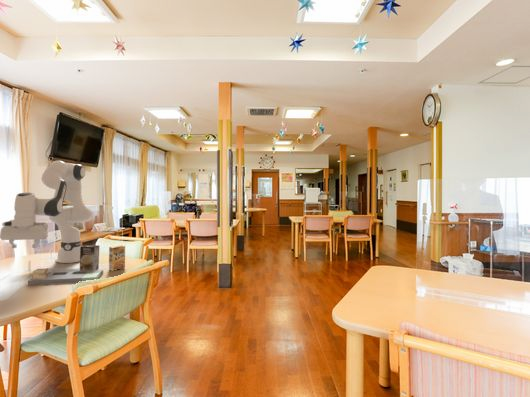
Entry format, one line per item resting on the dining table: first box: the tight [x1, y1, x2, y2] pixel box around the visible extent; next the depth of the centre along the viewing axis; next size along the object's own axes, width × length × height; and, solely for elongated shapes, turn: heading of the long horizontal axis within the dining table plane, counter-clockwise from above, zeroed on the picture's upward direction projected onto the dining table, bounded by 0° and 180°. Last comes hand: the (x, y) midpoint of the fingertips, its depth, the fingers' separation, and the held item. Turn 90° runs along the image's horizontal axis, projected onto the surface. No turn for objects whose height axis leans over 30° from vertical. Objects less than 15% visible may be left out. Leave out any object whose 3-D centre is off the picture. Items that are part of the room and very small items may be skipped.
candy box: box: [108, 244, 126, 272], centre depth 182 cm, size 9×4×15 cm, turn 150°
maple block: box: [32, 267, 49, 279], centre depth 153 cm, size 5×5×4 cm
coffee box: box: [79, 244, 100, 271], centre depth 178 cm, size 9×6×16 cm
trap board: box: [27, 269, 104, 286], centre depth 160 cm, size 16×32×2 cm, turn 108°
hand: (24, 247), depth 150 cm, fingers open, 8 cm apart
